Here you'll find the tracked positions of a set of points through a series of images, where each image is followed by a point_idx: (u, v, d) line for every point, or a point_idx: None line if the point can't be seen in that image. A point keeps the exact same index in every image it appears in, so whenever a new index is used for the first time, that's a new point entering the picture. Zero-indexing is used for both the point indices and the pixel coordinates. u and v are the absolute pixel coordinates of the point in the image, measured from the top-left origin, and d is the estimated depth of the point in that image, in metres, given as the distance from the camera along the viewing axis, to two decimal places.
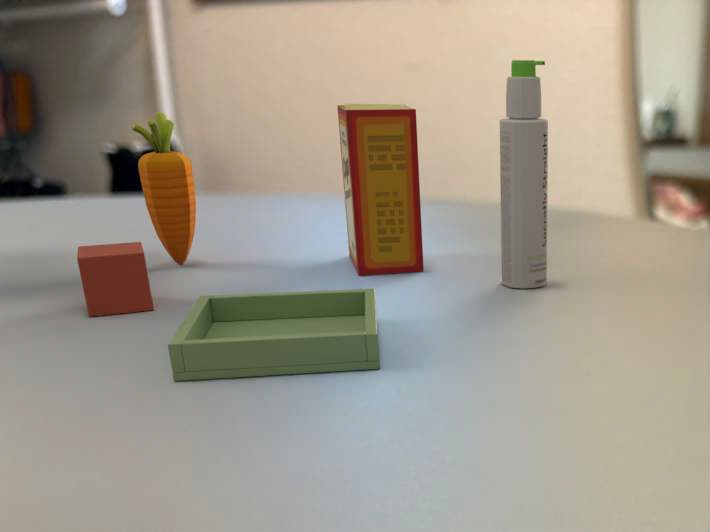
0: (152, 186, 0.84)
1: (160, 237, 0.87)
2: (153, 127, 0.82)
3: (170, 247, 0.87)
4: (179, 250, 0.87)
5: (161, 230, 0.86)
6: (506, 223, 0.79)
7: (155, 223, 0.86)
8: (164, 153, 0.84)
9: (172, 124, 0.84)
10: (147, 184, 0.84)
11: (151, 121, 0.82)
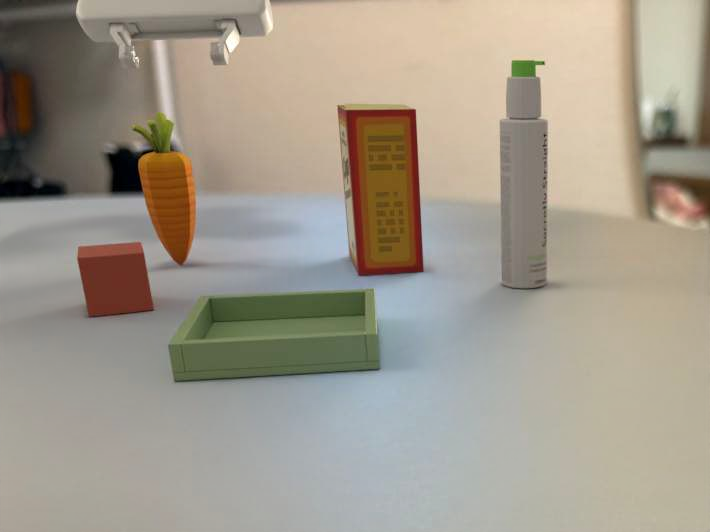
0: (152, 186, 0.84)
1: (160, 237, 0.87)
2: (153, 127, 0.82)
3: (170, 247, 0.87)
4: (179, 250, 0.87)
5: (161, 230, 0.86)
6: (506, 223, 0.79)
7: (155, 223, 0.86)
8: (164, 153, 0.84)
9: (172, 124, 0.84)
10: (147, 184, 0.84)
11: (151, 121, 0.82)
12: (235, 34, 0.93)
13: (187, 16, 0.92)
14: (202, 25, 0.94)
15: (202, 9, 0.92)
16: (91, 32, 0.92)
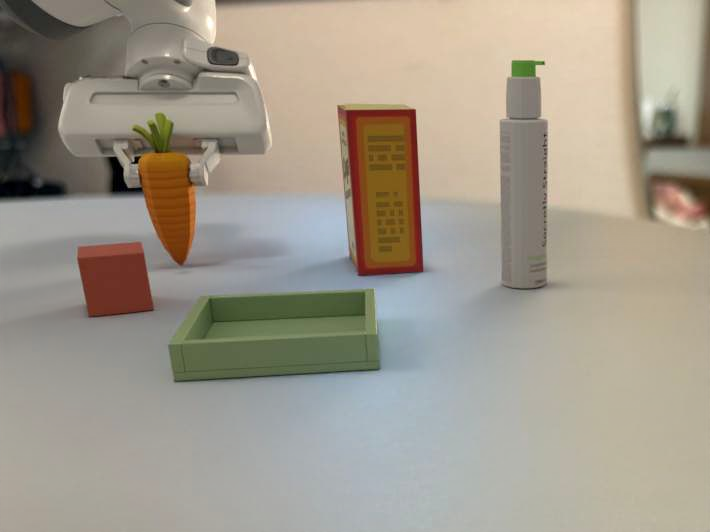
0: (152, 186, 0.84)
1: (160, 237, 0.87)
2: (153, 127, 0.82)
3: (170, 247, 0.87)
4: (179, 250, 0.87)
5: (161, 230, 0.86)
6: (506, 223, 0.79)
7: (155, 223, 0.86)
8: (164, 153, 0.84)
9: (172, 124, 0.84)
10: (147, 184, 0.84)
11: (151, 121, 0.82)
12: (216, 154, 0.87)
13: (182, 134, 0.86)
14: None
15: (199, 127, 0.86)
16: (74, 147, 0.85)
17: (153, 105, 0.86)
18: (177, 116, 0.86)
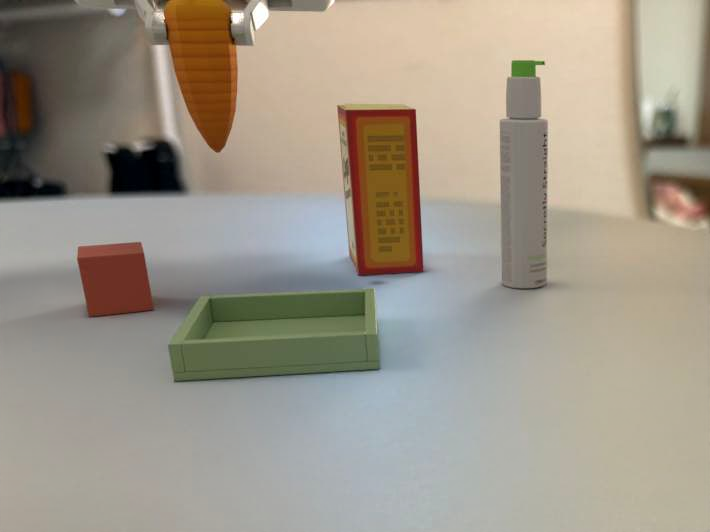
0: (183, 40, 0.63)
1: (192, 113, 0.66)
2: None
3: (205, 126, 0.67)
4: (216, 131, 0.67)
5: (194, 102, 0.65)
6: (506, 223, 0.79)
7: (186, 92, 0.66)
8: None
9: None
10: (176, 37, 0.64)
11: None
12: (265, 4, 0.67)
13: None
14: None
15: None
16: None
17: None
18: None
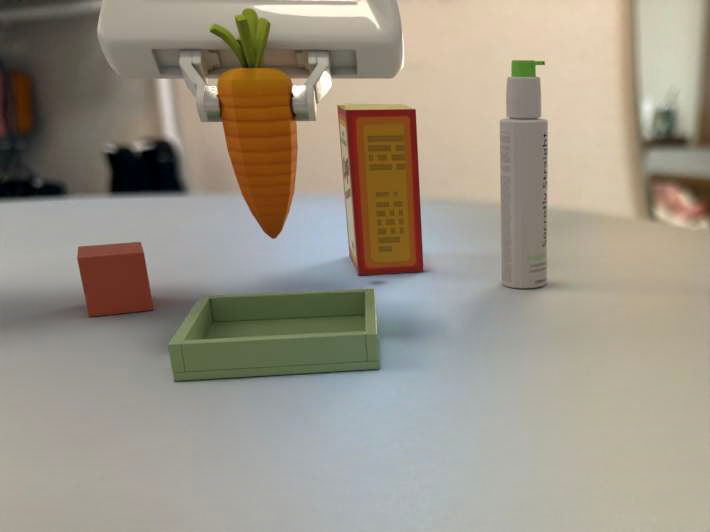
0: (239, 118, 0.56)
1: (247, 197, 0.59)
2: (243, 26, 0.54)
3: (261, 212, 0.59)
4: (274, 216, 0.59)
5: (250, 186, 0.58)
6: (506, 223, 0.79)
7: (240, 175, 0.58)
8: (257, 68, 0.56)
9: (268, 25, 0.56)
10: (231, 115, 0.56)
11: (240, 16, 0.54)
12: (328, 74, 0.59)
13: (280, 43, 0.58)
14: None
15: (304, 34, 0.58)
16: (120, 62, 0.57)
17: (236, 1, 0.58)
18: (272, 17, 0.58)
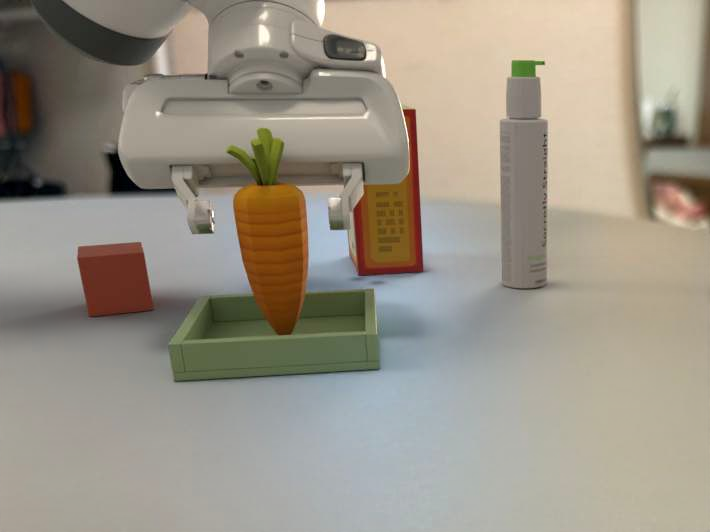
0: (254, 233, 0.58)
1: (260, 302, 0.62)
2: (259, 149, 0.57)
3: (273, 316, 0.62)
4: (285, 320, 0.62)
5: (263, 294, 0.61)
6: (506, 223, 0.79)
7: (254, 283, 0.61)
8: (271, 186, 0.58)
9: (282, 144, 0.59)
10: (246, 230, 0.59)
11: (256, 141, 0.56)
12: (362, 184, 0.62)
13: (292, 157, 0.61)
14: (308, 168, 0.63)
15: (315, 148, 0.61)
16: (139, 176, 0.60)
17: (250, 116, 0.61)
18: (284, 131, 0.61)
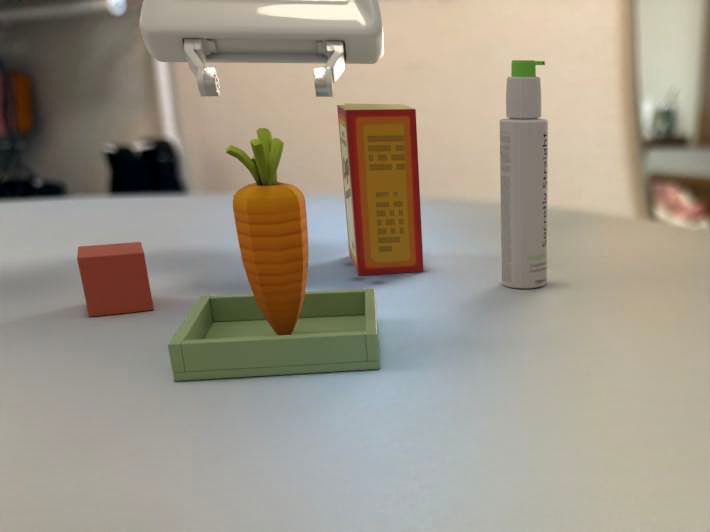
0: (253, 233, 0.58)
1: (260, 303, 0.62)
2: (258, 149, 0.57)
3: (273, 316, 0.62)
4: (285, 320, 0.62)
5: (263, 294, 0.61)
6: (506, 223, 0.79)
7: (254, 283, 0.61)
8: (271, 186, 0.58)
9: (282, 144, 0.59)
10: (246, 230, 0.59)
11: (256, 141, 0.56)
12: (343, 59, 0.74)
13: (284, 34, 0.73)
14: (298, 46, 0.75)
15: (304, 27, 0.73)
16: (157, 48, 0.72)
17: (249, 1, 0.73)
18: (278, 13, 0.73)
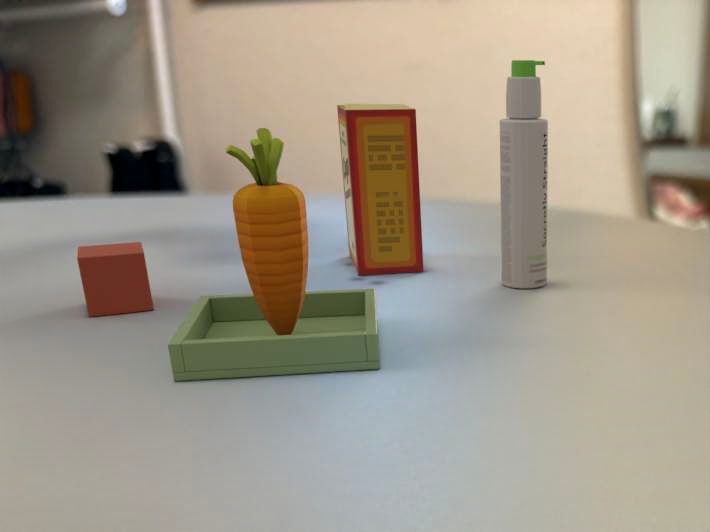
0: (253, 233, 0.58)
1: (260, 303, 0.62)
2: (258, 149, 0.57)
3: (273, 316, 0.62)
4: (285, 320, 0.62)
5: (263, 294, 0.61)
6: (506, 223, 0.79)
7: (254, 283, 0.61)
8: (271, 186, 0.58)
9: (282, 144, 0.59)
10: (246, 230, 0.59)
11: (256, 141, 0.56)
12: None
13: None
14: None
15: None
16: None
17: None
18: None
